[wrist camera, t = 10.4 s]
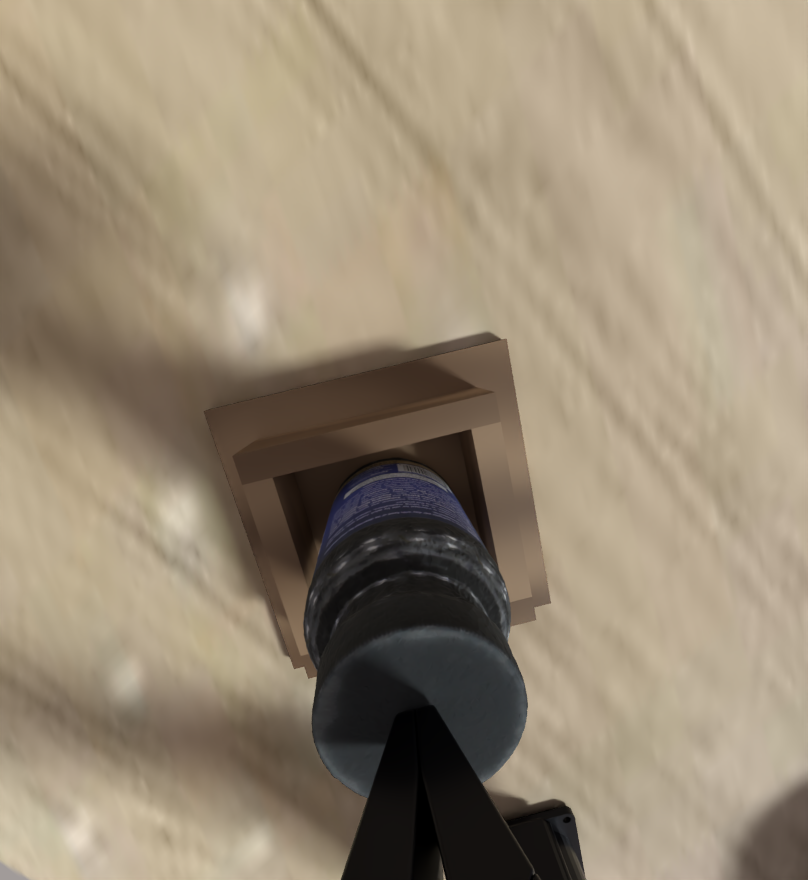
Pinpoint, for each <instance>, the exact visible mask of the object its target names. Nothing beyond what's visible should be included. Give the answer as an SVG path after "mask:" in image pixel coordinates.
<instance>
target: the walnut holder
mask: <svg viewBox="0 0 808 880" xmlns="http://www.w3.org/2000/svg"><path fill="white" fill-rule="evenodd" d="M204 413H205V416H206V419H207V422H208V425H209V427H210V430H211V433H212V436H213V439H214V442H215V445H216V447H217V450H218V453H219V456H220V459H221V462H222V465H223V467H224V470H225V473H226V476H227V479H228V482H229V485H230V487H231V490H232V493H233V496H234V499H235V502H236V505H237V507H238V510H239V513H240V516H241V519H242V522H243V525H244V527H245V530H246V533H247V536H248V539H249V542H250V544H251V547H252V550H253V553H254V556H255V559H256V562H257V564H258V567H259V570H260V573H261V576H262V579H263V582H264V584H265V587H266V590H267V593H268V596H269V599H270V602H271V604H272V607H273V610H274V613H275V616H276V619H277V622H278V624H279V627H280V630H281V633H282V636H283V639H284V642H285V644H286V647H287V650H288V653H289V656H290V659H291V662H292V664H293V667H294V669H296V668H300V667H305V670H306V673H307V676H308V679H309V678H313V677H317V670H316V668H315V666H314V665H313V663H312V660H311V658H310V656H309V653H308V650H307V647H306V642H305V638H304V628H303V621H304V612H305V605H306V599H307V594H308V590H309V587H310V584H311V580H312V576H313V573H314V569H315V566H316V562H317V558H318V555H319V550H320V547H321V543H322V539H323V535H324V532H325V529H326V525H327V521H328V517H329V514H330V510H331V507H332V504H333V501H334V499H335V496H336V494H337V492H338V489H339V488H340V486H341V484H342V483H343V482H344V481H345V480H346V479H347V478H348V477H349V476H350V475H351V474H352V473H353V472H355V471H356V470H357V469H359V468H360V467H362V466H364V465H366V464H368V463H370V462H374V461H377V460H382V459H389V458H397V457H399V458H404V459H408V460H413V461H416V462H419V463H422V464H425V465H427V466H428V467H429V468H431V469H432V470H434V471H436V472H437V473H438V474H439V475H440V476H441V477H442V478H443V479H444V480H445V481H446V482H447V484H448V485H449V487H450V488H451V490H452V491H453V493H454V495H455V496H456V498H457V499H458V500H459V502H460V504H461V506H462V508H463V510H464V512H465V513H466V515H467V517H468V518H469V520H470V521H471V523H472V525H473V526H474V528H475V530H476V531H477V533H478V535H479V536H480V538H481V540H482V542H483V544H484V545H485V547H486V549H487V551H488V553H489V554H490V555H491V557H492V558H493V560H494V561H495V562H496V564H497V567H498V569H499V571H500V573H501V575H502V577H503V579H504V581H505V585H506V588H507V591H508V596H509V600H510V607H511V624H510V626H514V625H518V624H522V623H526V622H530V621H534V620H536V616H535V610H534V607H537V606H541V605H545V604H549V603H551V601H550V595H549V589H548V583H547V577H546V571H545V565H544V559H543V553H542V547H541V541H540V535H539V529H538V523H537V517H536V511H535V505H534V500H533V494H532V488H531V482H530V476H529V470H528V464H527V458H526V452H525V446H524V440H523V434H522V428H521V422H520V416H519V410H518V404H517V398H516V392H515V386H514V380H513V374H512V368H511V363H510V357H509V351H508V345H507V339H502V340H498V341H494V342H490V343H486V344H481V345H477V346H473V347H469V348H465V349H461V350H456V351H452V352H448V353H444V354H440V355H435V356H431V357H427V358H423V359H419V360H414V361H410V362H406V363H402V364H398V365H394V366H389V367H385V368H381V369H377V370H373V371H368V372H364V373H360V374H356V375H352V376H348V377H343V378H339V379H335V380H331V381H327V382H322V383H318V384H314V385H310V386H306V387H301V388H297V389H293V390H289V391H285V392H281V393H276V394H272V395H268V396H264V397H260V398H255V399H251V400H247V401H243V402H239V403H234V404H230V405H226V406H222V407H218V408H214V409H209V410H206V411H204Z"/></svg>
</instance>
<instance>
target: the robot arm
mask: <svg viewBox="0 0 808 880" xmlns="http://www.w3.org/2000/svg"><path fill="white" fill-rule="evenodd" d="M442 864H443V868H444V872H445V876H446V880H586V878H585V873H584V867H583V862H582V856H581V850H580V845H579V839H578V833H577V828H576V822H575V817H574V815H573V813H572V810H571V808H569V807H567V806H564V807H560V808H556V809H552V810H549V811H545V812H541V813H537V814H534V815H530V816H526V817H523V818H519V819H515V820H512V821H508V822H505V820H504V819H503V817H502V816H501V814H500V812H499V811H498V809H497V807H496V806H495V804H494V802H493V801H492V799H491V797H490V796H489V794H488V792H487V791H486V789H485V788H484V786H483V784H482V783H481V781H480V779H479V778H478V776H477V774H476V773H475V771H474V769H473V768H472V766H471V765H470V763H469V761H468V760H467V758H466V756H465V755H464V753H463V751H462V750H461V748H460V746H459V745H458V743H457V741H456V740H455V738H454V737H453V735H452V733H451V732H450V730H449V728H448V727H447V725H446V723H445V722H444V720H443V718H442V717H441V715H440V714H439V712H438V710H437V709H436V707H435V706H434V705H427V706H423V707H420V708H417V709H416V712H415V711H414V710H408V711H404V712H401V713H398V714H397V715H396V716H395V718H394V721H393V724H392V727H391V730H390V733H389V736H388V739H387V742H386V745H385V748H384V751H383V754H382V757H381V760H380V763H379V766H378V769H377V772H376V775H375V778H374V781H373V784H372V787H371V790H370V793H369V796H368V799H367V802H366V805H365V808H364V811H363V814H362V817H361V820H360V823H359V826H358V829H357V832H356V835H355V838H354V841H353V844H352V847H351V850H350V853H349V857H348V860H347V863H346V866H345V869H344V872H343V875H342V878H341V880H443V868H442Z"/></svg>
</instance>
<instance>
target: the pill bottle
mask: <svg viewBox="0 0 808 880" xmlns="http://www.w3.org/2000/svg"><path fill="white" fill-rule="evenodd" d="M510 624H511V607H510V600H509V596H508V591H507V588H506V585H505V581H504V579H503V577H502V575H501V573H500V571H499V569H498V567H497V564H496V562H495V561H494V560H493V558H492V557H491V555H490V554H489V553H488V551H487V549H486V547H485V545H484V544H483V542H482V540H481V538H480V536H479V535H478V533H477V531H476V530H475V528H474V526H473V525H472V523H471V521H470V520H469V518H468V517H467V515H466V513H465V512H464V510H463V508H462V506H461V504H460V502H459V500H458V499H457V498H456V496H455V495H454V493H453V491H452V490H451V488H450V487H449V485H448V484H447V482H446V481H445V480H444V479H443V478H442V477H441V476H440V475H439V474H438V473H437V472H436V471H434V470H432V469H431V468H429V467H428V466H427V465H425V464H422V463H419V462H416V461H413V460H408V459H404V458H399V457H397V458H389V459H382V460H377V461H374V462H370V463H368V464H366V465H364V466H362V467H360V468H359V469H357V470H356V471H355V472H353V473H352V474H351V475H350V476H349V477H348V478H347V479H346V480H345V481H344V482H343V483H342V484H341V486H340V488H339V489H338V492H337V494H336V496H335V499H334V501H333V504H332V507H331V510H330V514H329V517H328V521H327V525H326V529H325V532H324V535H323V539H322V543H321V547H320V550H319V555H318V558H317V562H316V566H315V569H314V573H313V576H312V580H311V584H310V587H309V590H308V594H307V599H306V605H305V612H304V621H303V628H304V638H305V642H306V647H307V650H308V653H309V656H310V658H311V660H312V663H313V665H314V666H315V668H316V670H317V682H316V690H315V697H314V703H313V709H312V733H313V737H314V743H315V745H316V748H317V751H318V753H319V755H320V758H321V759H322V761H323V763H324V764H325V766H326V768H327V769H328V770H329V771H330V772H331V774H332V776H333V777H334V778H337V779H338V780H339V781H340V782H342V784H344V785H345V786H346V787H348V788H349V789H351V790H352V791H354V792H355V793H357V794H359V795H361V796H364V797H366V798H368V796H369V793H370V790H371V787H372V784H373V781H374V778H375V775H376V772H377V769H378V766H379V763H380V760H381V757H382V754H383V751H384V748H385V745H386V742H387V739H388V736H389V733H390V730H391V727H392V724H393V721H394V718H395V716H396V715H397V714H398V713H401V712H404V711H408V710H414V711H415V712H416V709H417V708H420V707H423V706H427V705H434V706H435V707H436V709H437V710H438V712H439V714H440V715H441V717H442V718H443V720H444V722H445V723H446V725H447V727H448V728H449V730H450V732H451V733H452V735H453V737H454V738H455V740H456V741H457V743H458V745H459V746H460V748H461V750H462V751H463V753H464V755H465V756H466V758H467V760H468V761H469V763H470V765H471V766H472V768H473V769H474V771H475V773H476V774H477V776H478V778H479V779H480V781H481V783H483V782H485V781H486V780H487V779H489V778H491V777H492V776H493V775H494V774H495V773H496V772H497V771H498V770H499V769H500V768H501V767H502V766H503V765H504V764H505V762H506V761H507V760H508V759H509V758H510V756H511V755H512V754H513V752H514V750H515V749H516V747H517V745H518V743H519V741H520V739H521V736H522V733H523V731H524V728H525V722H526V717H527V708H528V702H527V694H526V689H525V684H524V681H523V677H522V675H521V672H520V670H519V668H518V665H517V663H516V660H515V659H514V657H513V655H512V652H511V649H510V647H509V645H508V637H509V633H510Z"/></svg>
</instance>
